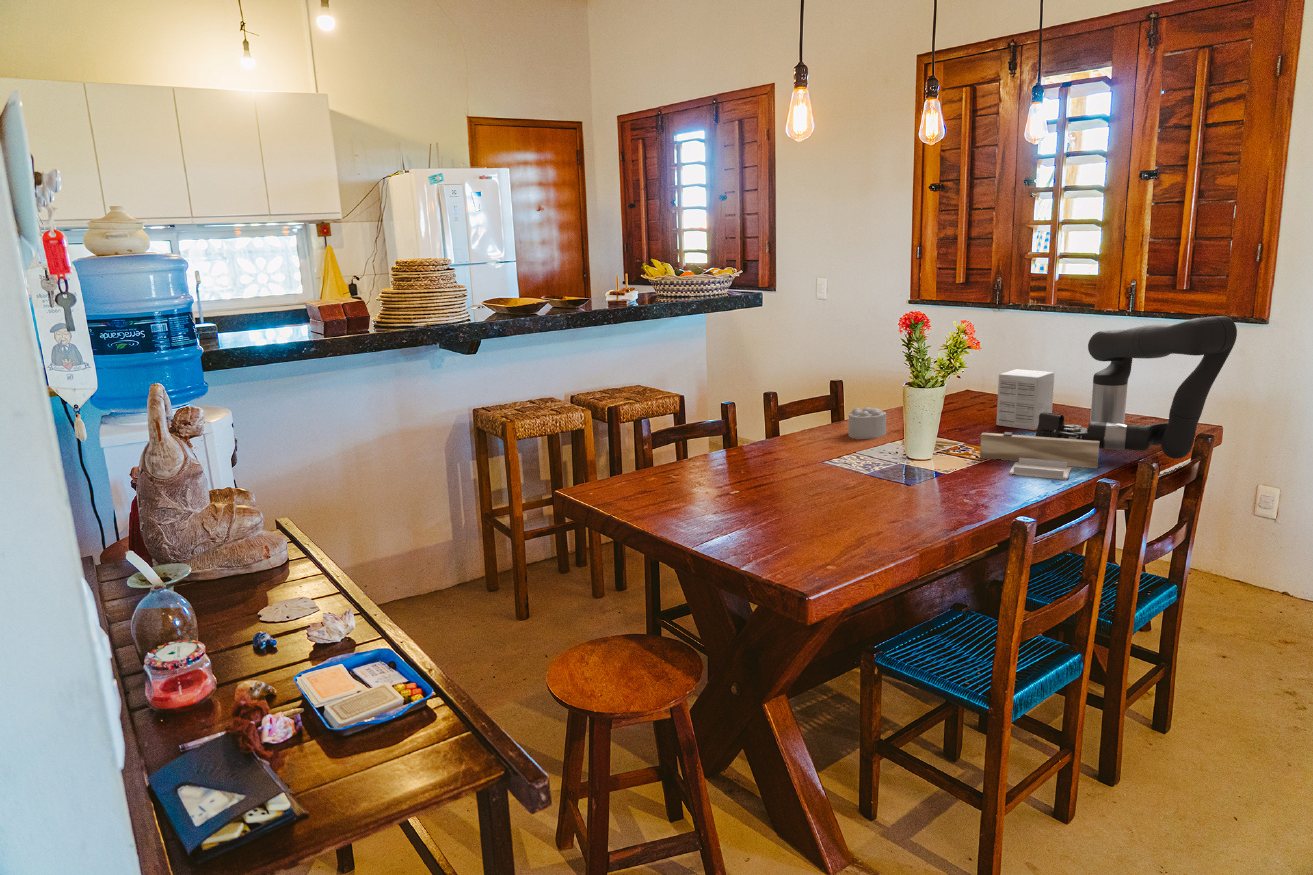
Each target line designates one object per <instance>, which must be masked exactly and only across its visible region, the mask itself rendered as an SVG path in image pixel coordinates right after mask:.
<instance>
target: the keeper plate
mask: <svg viewBox="0 0 1313 875" xmlns="http://www.w3.org/2000/svg"><path fill="white" fill-rule="evenodd" d="M1071 471H1072V466H1067V461H1055V460H1043V459H1031V458H1019V461H1014V463H1013V466H1012V467H1011V469H1010V470H1009V472H1008V474H1009V475H1012V474H1016V475H1015V476H1023V477H1024V476H1025V477H1033V476H1037V477H1036V478H1044V479H1045V478H1047V479H1054V480H1055V479H1056V480H1066V481H1067V480H1068V478H1069V475H1070V474H1071ZM1017 474H1018V475H1017Z"/></svg>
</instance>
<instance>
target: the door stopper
mask: <svg viewBox="0 0 1313 875" xmlns="http://www.w3.org/2000/svg"><path fill="white" fill-rule="evenodd" d="M1064 425H1065V416H1064V415H1063V414H1060V413H1059V414H1057V413H1053V412H1052V413H1046V412H1043V413H1040V415H1039V424H1038V428H1037V429H1036V432H1035V436H1036V437H1039V429H1049V430H1062V429H1063V428H1064ZM1052 432H1053V431H1052ZM1050 435H1051V434H1050ZM1060 436H1062V434H1060ZM1046 437H1047V436H1046ZM1050 438H1054V437H1050Z"/></svg>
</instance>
